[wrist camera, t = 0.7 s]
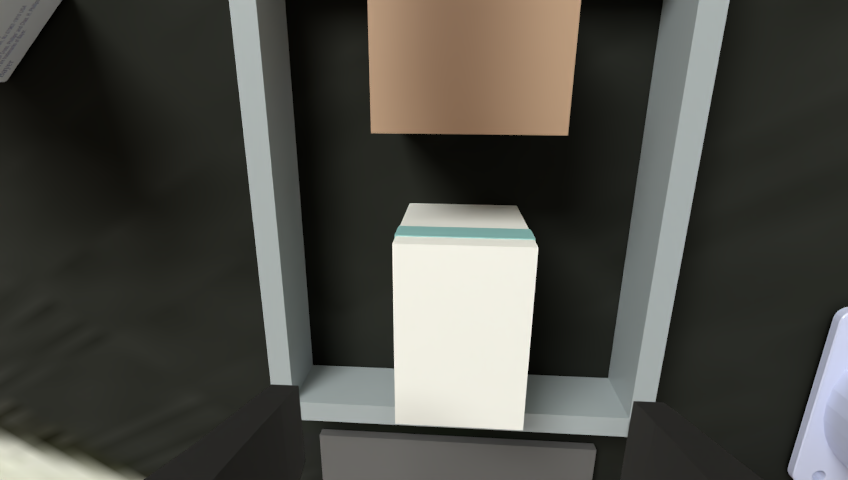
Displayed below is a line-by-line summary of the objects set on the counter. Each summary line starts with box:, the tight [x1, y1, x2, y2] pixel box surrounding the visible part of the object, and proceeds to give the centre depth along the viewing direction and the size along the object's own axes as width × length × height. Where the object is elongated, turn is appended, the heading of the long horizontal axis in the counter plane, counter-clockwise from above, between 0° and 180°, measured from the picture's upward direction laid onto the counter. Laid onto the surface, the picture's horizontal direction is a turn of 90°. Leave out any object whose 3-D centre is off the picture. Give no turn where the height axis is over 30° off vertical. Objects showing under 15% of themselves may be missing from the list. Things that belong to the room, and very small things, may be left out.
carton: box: [392, 203, 538, 430], centre depth 16 cm, size 4×6×5 cm
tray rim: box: [229, 0, 730, 437], centre depth 16 cm, size 14×17×2 cm
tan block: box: [367, 0, 581, 136], centre depth 14 cm, size 5×4×5 cm
